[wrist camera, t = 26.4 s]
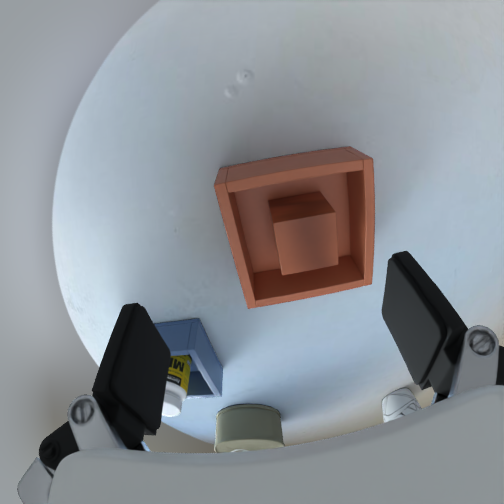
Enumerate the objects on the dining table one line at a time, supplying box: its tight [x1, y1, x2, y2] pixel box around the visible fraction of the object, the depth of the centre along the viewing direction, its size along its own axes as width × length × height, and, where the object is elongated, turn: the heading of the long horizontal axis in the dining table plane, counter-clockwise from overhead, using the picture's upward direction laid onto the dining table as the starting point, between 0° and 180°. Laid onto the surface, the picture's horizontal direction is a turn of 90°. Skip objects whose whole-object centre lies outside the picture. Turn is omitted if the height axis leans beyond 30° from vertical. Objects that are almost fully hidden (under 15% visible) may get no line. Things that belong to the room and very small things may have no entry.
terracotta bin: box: [214, 147, 375, 309], centre depth 22 cm, size 11×11×5 cm
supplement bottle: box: [162, 354, 192, 417], centre depth 29 cm, size 5×5×8 cm
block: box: [268, 191, 338, 275], centre depth 22 cm, size 4×4×4 cm
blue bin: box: [154, 318, 223, 399], centre depth 31 cm, size 10×10×5 cm
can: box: [214, 404, 285, 453], centre depth 41 cm, size 12×12×7 cm
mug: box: [382, 388, 422, 423], centre depth 41 cm, size 11×8×10 cm
